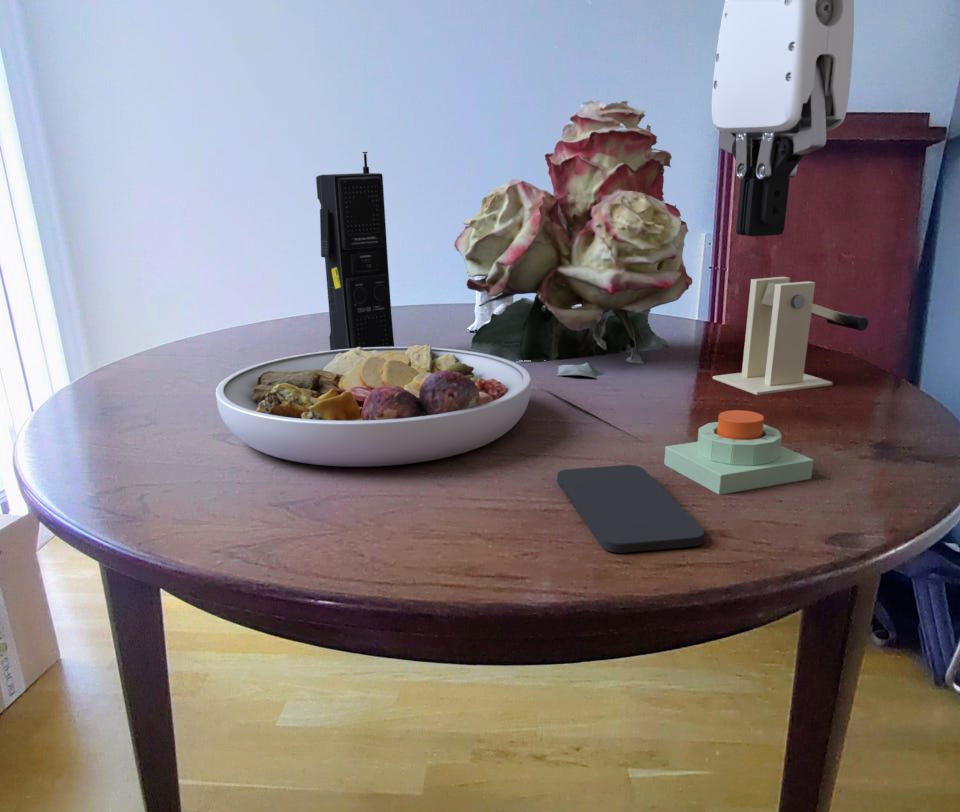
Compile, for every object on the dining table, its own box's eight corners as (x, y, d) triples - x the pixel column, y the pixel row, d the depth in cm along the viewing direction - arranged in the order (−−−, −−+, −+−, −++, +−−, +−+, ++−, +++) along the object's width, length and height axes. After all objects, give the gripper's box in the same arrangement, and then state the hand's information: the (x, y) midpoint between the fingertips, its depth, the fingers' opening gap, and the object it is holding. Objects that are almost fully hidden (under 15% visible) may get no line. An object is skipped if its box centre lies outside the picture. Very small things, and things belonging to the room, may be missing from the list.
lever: (831, 328, 104) (839, 308, 103) (863, 336, 100) (872, 314, 99) (752, 302, 99) (760, 280, 98) (782, 309, 94) (790, 286, 94)
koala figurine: (460, 334, 132) (458, 249, 127) (463, 326, 138) (461, 244, 134) (517, 334, 132) (518, 248, 127) (518, 325, 138) (518, 243, 133)
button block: (750, 451, 81) (754, 413, 79) (811, 479, 74) (816, 438, 73) (663, 464, 78) (666, 425, 76) (719, 495, 71) (722, 453, 70)
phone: (606, 545, 60) (553, 470, 74) (605, 556, 61) (552, 479, 74) (711, 536, 62) (640, 463, 75) (710, 547, 62) (639, 473, 75)
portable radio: (346, 369, 113) (330, 153, 103) (322, 362, 117) (304, 153, 107) (398, 360, 117) (388, 151, 107) (373, 353, 122) (360, 152, 112)
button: (743, 428, 77) (745, 408, 76) (771, 439, 74) (773, 419, 73) (708, 433, 76) (709, 413, 75) (734, 445, 73) (736, 424, 72)
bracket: (783, 377, 106) (795, 273, 101) (831, 392, 99) (847, 282, 94) (711, 386, 102) (720, 279, 98) (755, 403, 96) (768, 289, 91)
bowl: (171, 425, 91) (159, 347, 88) (412, 376, 109) (409, 310, 106) (326, 507, 70) (318, 408, 67) (594, 430, 88) (597, 349, 84)
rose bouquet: (433, 364, 115) (423, 103, 103) (588, 332, 132) (595, 106, 121) (583, 402, 97) (592, 92, 85) (739, 359, 115) (764, 97, 103)
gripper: (916, -68, 56) (871, 240, 63) (763, -28, 69) (740, 225, 76) (819, -76, 54) (783, 246, 61) (679, -32, 66) (663, 229, 74)
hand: (759, 234), depth 68 cm, fingers closed
